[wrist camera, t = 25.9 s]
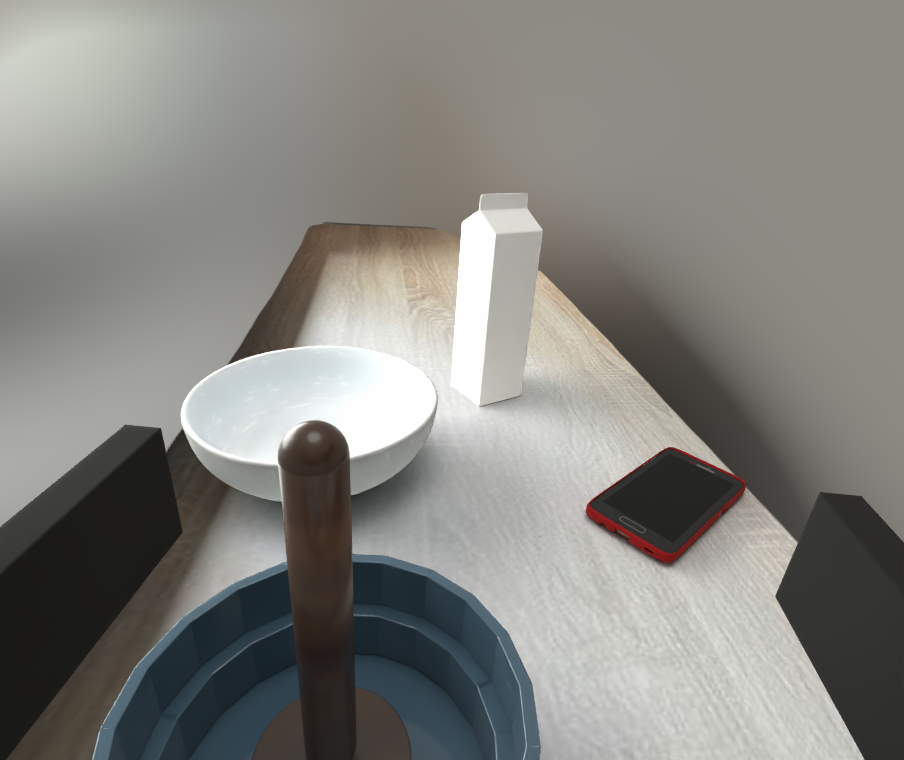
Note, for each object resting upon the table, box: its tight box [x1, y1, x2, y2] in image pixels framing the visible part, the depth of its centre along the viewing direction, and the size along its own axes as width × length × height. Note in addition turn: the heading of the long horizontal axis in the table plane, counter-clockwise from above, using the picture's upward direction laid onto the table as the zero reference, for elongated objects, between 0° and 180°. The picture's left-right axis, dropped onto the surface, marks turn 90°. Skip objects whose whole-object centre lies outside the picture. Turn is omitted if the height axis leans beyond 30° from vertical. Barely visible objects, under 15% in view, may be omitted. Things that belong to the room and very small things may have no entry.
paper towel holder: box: [252, 420, 411, 760], centre depth 21 cm, size 7×7×20 cm
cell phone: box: [586, 447, 746, 563], centre depth 47 cm, size 8×15×1 cm, turn 133°
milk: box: [451, 193, 543, 406], centre depth 60 cm, size 6×6×22 cm
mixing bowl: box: [92, 554, 541, 760], centre depth 24 cm, size 17×17×7 cm
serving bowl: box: [181, 346, 438, 502], centre depth 49 cm, size 21×21×7 cm
